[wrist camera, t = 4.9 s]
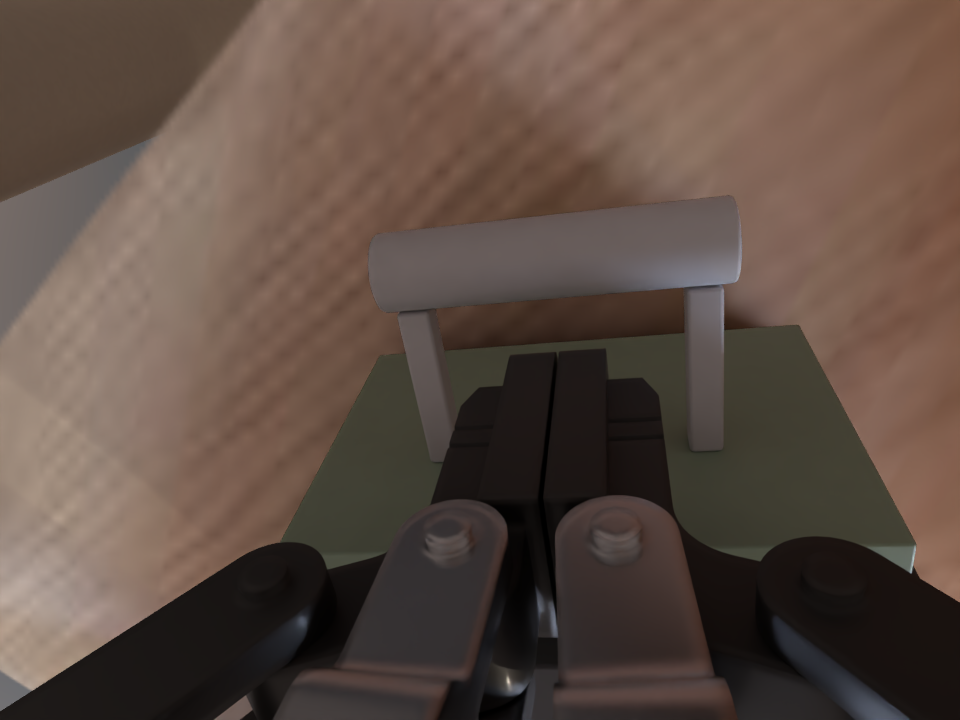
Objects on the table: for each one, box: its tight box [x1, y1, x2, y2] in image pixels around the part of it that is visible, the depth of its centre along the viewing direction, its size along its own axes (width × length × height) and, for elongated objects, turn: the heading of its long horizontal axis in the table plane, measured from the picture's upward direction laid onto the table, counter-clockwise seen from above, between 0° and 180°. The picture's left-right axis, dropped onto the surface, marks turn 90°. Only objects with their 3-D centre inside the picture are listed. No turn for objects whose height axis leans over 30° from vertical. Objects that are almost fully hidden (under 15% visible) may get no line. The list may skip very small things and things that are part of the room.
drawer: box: [280, 195, 916, 574], centre depth 17 cm, size 17×10×7 cm, turn 9°
